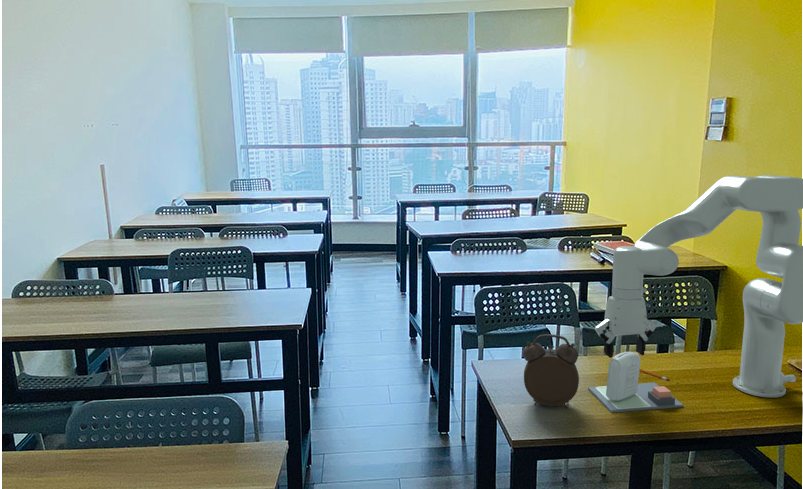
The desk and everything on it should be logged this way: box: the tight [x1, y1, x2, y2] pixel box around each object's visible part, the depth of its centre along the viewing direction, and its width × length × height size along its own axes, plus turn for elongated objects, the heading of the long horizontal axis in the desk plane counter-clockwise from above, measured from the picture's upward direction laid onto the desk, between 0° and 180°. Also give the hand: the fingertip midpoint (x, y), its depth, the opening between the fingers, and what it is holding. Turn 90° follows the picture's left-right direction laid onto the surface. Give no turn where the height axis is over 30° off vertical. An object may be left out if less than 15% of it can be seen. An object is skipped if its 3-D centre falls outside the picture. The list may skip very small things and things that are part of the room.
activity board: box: [587, 382, 684, 413], centre depth 151 cm, size 20×14×2 cm
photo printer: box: [606, 351, 642, 401], centre depth 150 cm, size 10×4×12 cm, turn 124°
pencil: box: [639, 368, 670, 382], centre depth 169 cm, size 1×19×1 cm, turn 35°
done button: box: [653, 385, 672, 398], centre depth 148 cm, size 3×3×2 cm
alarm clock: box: [523, 333, 580, 409], centre depth 148 cm, size 15×7×20 cm, turn 74°
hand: (624, 354), depth 149 cm, fingers open, 8 cm apart
